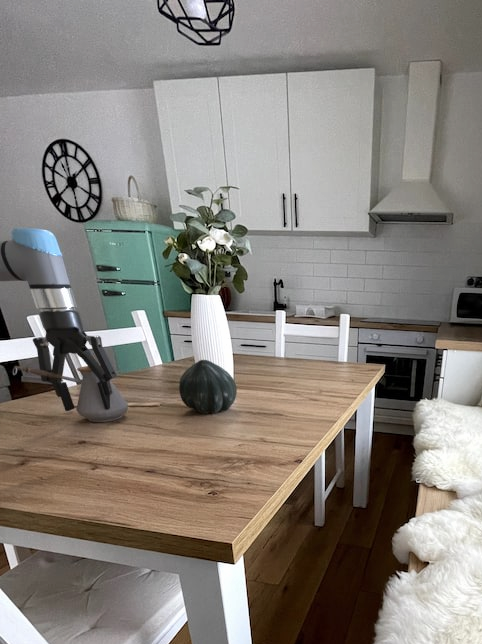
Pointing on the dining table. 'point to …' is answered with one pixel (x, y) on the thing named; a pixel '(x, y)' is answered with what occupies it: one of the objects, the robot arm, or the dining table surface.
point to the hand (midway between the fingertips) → (89, 408)
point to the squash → (207, 387)
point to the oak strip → (135, 404)
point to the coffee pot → (90, 395)
